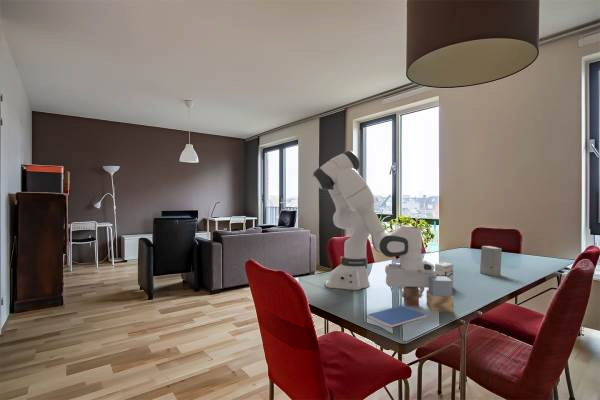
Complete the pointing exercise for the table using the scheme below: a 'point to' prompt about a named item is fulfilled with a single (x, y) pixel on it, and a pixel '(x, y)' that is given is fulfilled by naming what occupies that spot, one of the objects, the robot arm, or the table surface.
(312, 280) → the table surface
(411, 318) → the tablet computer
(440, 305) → the oak block
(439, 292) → the slate block
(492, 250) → the skincare box
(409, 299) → the walnut block
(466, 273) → the table surface
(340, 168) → the robot arm
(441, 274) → the ink box
